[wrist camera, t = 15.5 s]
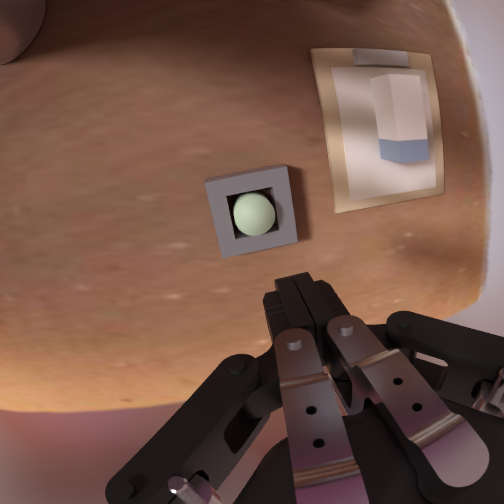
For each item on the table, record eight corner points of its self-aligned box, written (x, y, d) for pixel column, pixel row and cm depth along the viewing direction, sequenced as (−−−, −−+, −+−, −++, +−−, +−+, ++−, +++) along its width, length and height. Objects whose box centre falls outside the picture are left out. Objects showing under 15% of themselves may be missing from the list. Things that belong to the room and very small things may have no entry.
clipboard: (309, 50, 23) (314, 46, 21) (427, 55, 23) (434, 53, 22) (334, 211, 29) (339, 215, 28) (440, 192, 29) (448, 195, 28)
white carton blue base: (369, 78, 23) (388, 73, 20) (398, 79, 23) (419, 75, 20) (380, 158, 27) (399, 163, 23) (408, 155, 27) (429, 160, 23)
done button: (229, 194, 27) (230, 201, 24) (266, 187, 27) (271, 193, 25) (236, 229, 28) (238, 239, 26) (272, 222, 28) (277, 231, 26)
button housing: (205, 179, 26) (204, 182, 25) (282, 163, 27) (286, 166, 25) (221, 250, 29) (222, 258, 27) (292, 235, 29) (297, 242, 28)
